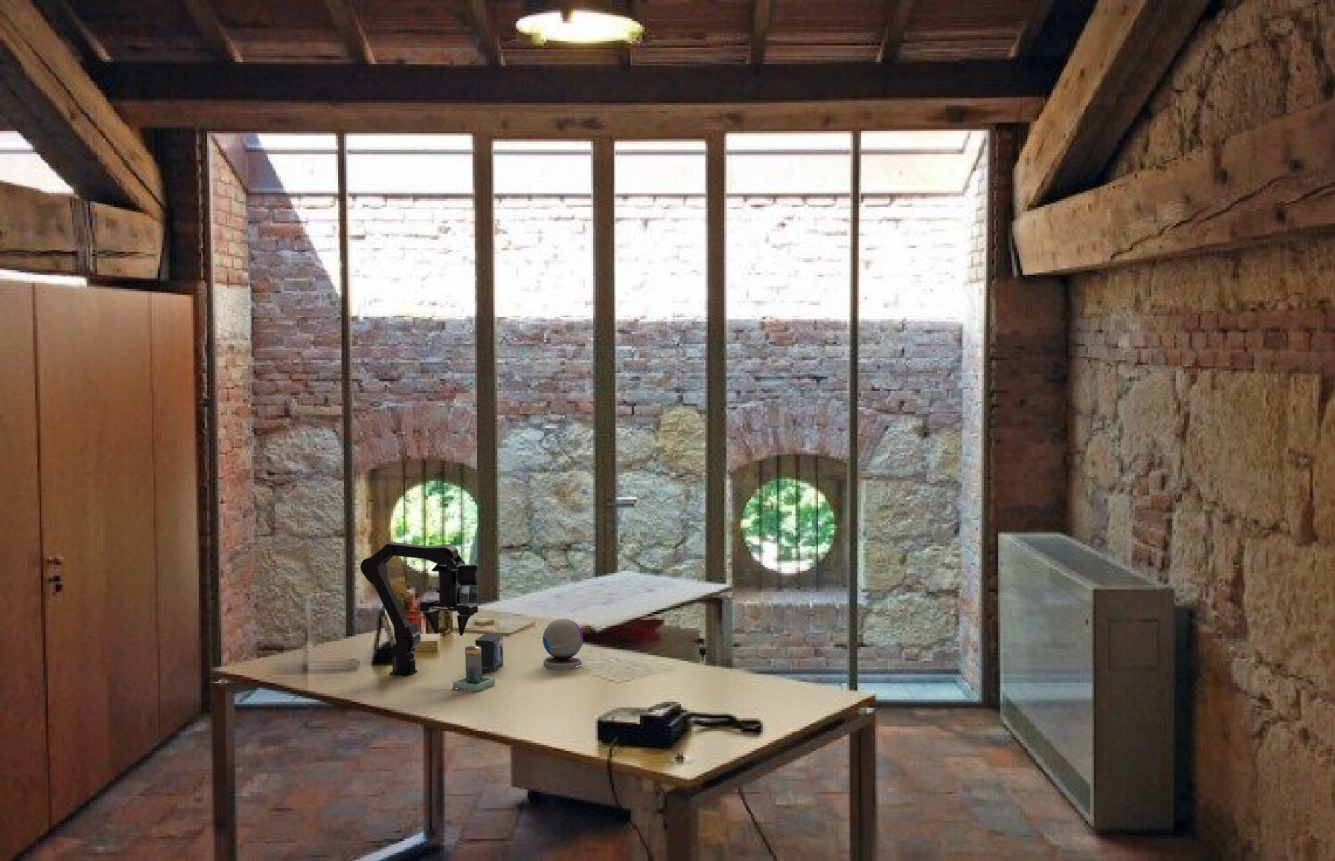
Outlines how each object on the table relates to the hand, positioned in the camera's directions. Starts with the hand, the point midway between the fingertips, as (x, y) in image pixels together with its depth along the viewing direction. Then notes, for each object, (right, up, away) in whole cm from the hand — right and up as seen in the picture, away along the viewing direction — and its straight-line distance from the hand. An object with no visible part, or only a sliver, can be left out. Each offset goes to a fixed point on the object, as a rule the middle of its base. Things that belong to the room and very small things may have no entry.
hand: (449, 634), depth 455 cm
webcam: (+35, -12, +13) cm, 39 cm away
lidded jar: (+10, -13, -14) cm, 21 cm away
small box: (+12, -13, +9) cm, 19 cm away
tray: (+10, -14, -14) cm, 22 cm away
